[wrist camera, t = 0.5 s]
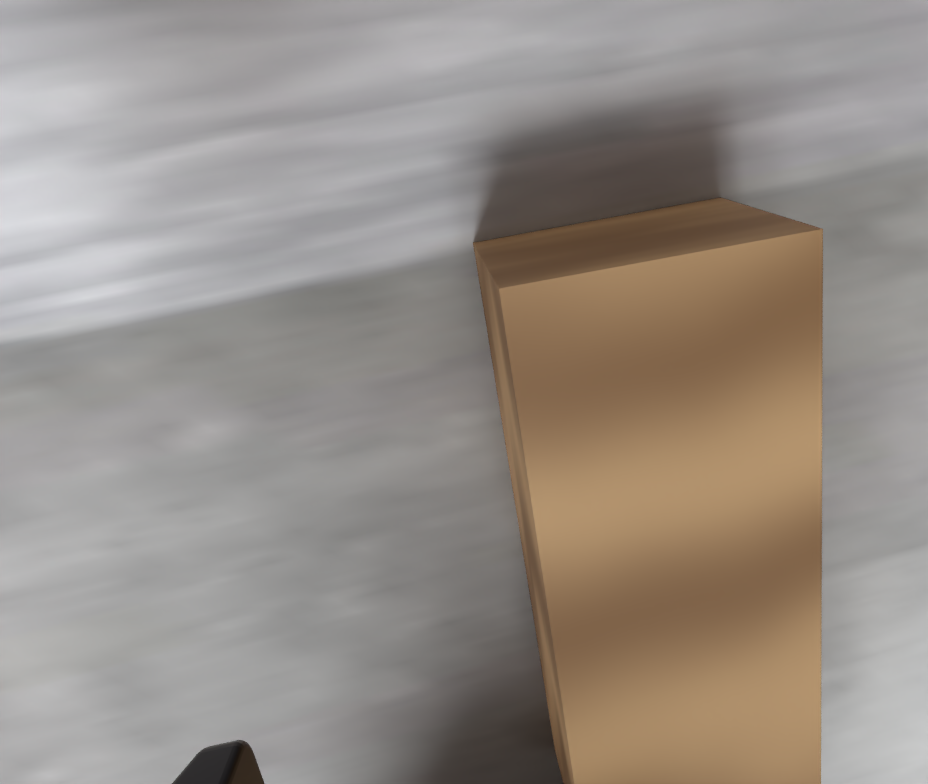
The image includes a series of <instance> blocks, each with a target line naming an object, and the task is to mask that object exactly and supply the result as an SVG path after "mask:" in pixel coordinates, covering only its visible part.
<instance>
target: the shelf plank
mask: <svg viewBox="0 0 928 784" xmlns="http://www.w3.org/2000/svg"><path fill="white" fill-rule="evenodd" d="M473 245H474V252H475V258H476V264H477V270H478V276H479V283H480V289H481V295H482V301H483V307H484V314H485V320H486V326H487V332H488V338H489V345H490V351H491V357H492V363H493V369H494V375H495V382H496V388H497V394H498V400H499V406H500V413H501V419H502V425H503V431H504V437H505V444H506V450H507V456H508V462H509V468H510V475H511V481H512V487H513V493H514V499H515V506H516V512H517V518H518V524H519V530H520V537H521V543H522V549H523V555H524V561H525V568H526V574H527V580H528V586H529V592H530V599H531V605H532V611H533V617H534V623H535V630H536V636H537V642H538V648H539V654H540V661H541V667H542V673H543V679H544V685H545V692H546V698H547V704H548V710H549V716H550V723H551V729H552V735H553V741H554V747H555V753H556V757H557V761H558V764H559V768H560V772H561V776H562V780H563V784H821V580H822V293H823V229H821V228H818V227H815V226H812V225H808V224H805V223H802V222H799V221H795V220H792V219H789V218H786V217H782V216H779V215H776V214H773V213H769V212H766V211H763V210H760V209H756V208H753V207H750V206H746V205H743V204H740V203H737V202H733V201H730V200H727V199H724V198H715V199H709V200H704V201H698V202H693V203H687V204H682V205H677V206H671V207H666V208H660V209H655V210H649V211H644V212H638V213H633V214H627V215H622V216H616V217H611V218H606V219H600V220H595V221H589V222H584V223H578V224H573V225H567V226H562V227H556V228H551V229H546V230H540V231H535V232H529V233H524V234H518V235H513V236H507V237H502V238H496V239H491V240H486V241H480V242H475V243H473Z"/></svg>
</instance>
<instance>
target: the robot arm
mask: <svg viewBox="0 0 928 784" xmlns="http://www.w3.org/2000/svg"><path fill="white" fill-rule="evenodd" d="M172 784H264V781H263V778H262V775H261V773H260V770H259V767H258V764H257V761H256V759H255V756H254V753H253V751H252V748H251V747H250V746H249V744H248V743H247V742H245V741H242V740H237V741H232V742H227V743H223V744H218V745H214V746H209V747H207V748H204V749H203V750H201V751H200V752H199V753H198V754H197V755H196V756H195V757H194V758H193V760H192V761H191V762H190V763H189V764H188V765H187V767H186V768H185V769H184V770H183V771H182V773H181V774H180V775H179V776H178V777H177V778H176V780H175V781H174V782H173V783H172Z"/></svg>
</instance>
